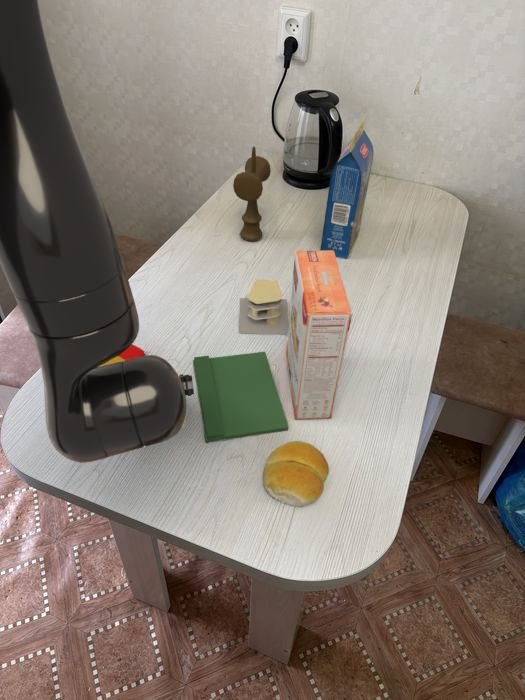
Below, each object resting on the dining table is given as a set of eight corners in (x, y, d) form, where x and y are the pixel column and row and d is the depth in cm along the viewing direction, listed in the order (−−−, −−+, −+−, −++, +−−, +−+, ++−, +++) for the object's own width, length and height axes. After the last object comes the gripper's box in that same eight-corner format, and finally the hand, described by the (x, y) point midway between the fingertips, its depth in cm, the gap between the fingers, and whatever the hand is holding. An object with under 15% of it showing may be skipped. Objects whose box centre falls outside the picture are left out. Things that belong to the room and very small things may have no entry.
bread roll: (332, 459, 70) (336, 442, 67) (315, 515, 64) (319, 499, 61) (275, 442, 72) (277, 424, 69) (254, 494, 66) (255, 478, 63)
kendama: (232, 246, 108) (232, 154, 95) (243, 224, 115) (245, 135, 101) (259, 250, 108) (263, 158, 94) (269, 228, 115) (274, 139, 101)
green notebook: (206, 442, 71) (205, 436, 70) (193, 363, 83) (192, 357, 82) (288, 430, 73) (288, 424, 73) (264, 354, 85) (265, 348, 84)
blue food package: (359, 232, 115) (382, 118, 98) (347, 259, 107) (370, 140, 89) (332, 226, 116) (350, 113, 99) (319, 252, 108) (335, 134, 91)
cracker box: (283, 355, 85) (293, 248, 70) (318, 354, 85) (336, 248, 71) (291, 421, 75) (305, 312, 60) (331, 420, 75) (355, 311, 61)
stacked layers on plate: (239, 298, 95) (240, 274, 92) (287, 299, 96) (289, 275, 92) (238, 333, 88) (238, 308, 84) (289, 334, 89) (292, 310, 85)
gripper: (194, 353, 57) (189, 356, 74) (61, 369, 54) (87, 368, 71) (203, 419, 57) (196, 407, 73) (69, 438, 54) (93, 421, 71)
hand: (142, 388), depth 72 cm, fingers closed on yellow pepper, 6 cm apart
